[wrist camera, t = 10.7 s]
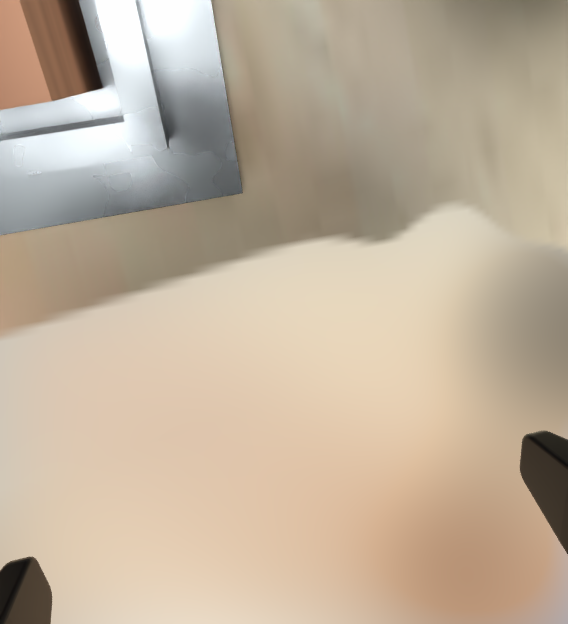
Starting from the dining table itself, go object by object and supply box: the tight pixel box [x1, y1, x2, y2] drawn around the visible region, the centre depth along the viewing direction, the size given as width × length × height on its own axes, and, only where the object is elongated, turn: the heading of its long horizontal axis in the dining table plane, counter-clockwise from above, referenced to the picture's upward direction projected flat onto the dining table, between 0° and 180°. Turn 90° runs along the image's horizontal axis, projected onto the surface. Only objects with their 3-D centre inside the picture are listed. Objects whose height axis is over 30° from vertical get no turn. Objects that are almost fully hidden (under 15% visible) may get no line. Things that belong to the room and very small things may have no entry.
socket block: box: [0, 0, 243, 235], centre depth 15 cm, size 12×12×4 cm
